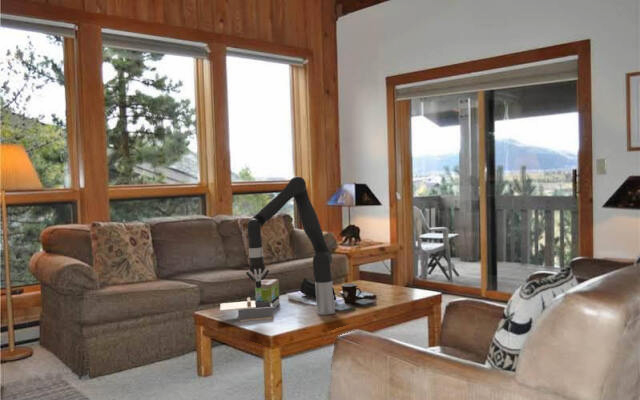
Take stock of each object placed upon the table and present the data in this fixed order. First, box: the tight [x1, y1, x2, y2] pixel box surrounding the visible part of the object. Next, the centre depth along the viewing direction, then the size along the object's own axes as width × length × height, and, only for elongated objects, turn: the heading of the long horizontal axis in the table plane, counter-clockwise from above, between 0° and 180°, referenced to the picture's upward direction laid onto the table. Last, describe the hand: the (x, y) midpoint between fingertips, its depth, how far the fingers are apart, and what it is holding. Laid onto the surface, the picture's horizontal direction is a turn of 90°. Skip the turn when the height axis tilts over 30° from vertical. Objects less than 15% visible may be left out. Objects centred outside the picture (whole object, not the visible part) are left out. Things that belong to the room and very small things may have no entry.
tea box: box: [254, 278, 280, 309], centre depth 319 cm, size 15×10×15 cm
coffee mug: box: [341, 282, 362, 304], centre depth 319 cm, size 12×9×10 cm
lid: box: [219, 297, 256, 312], centre depth 298 cm, size 18×14×3 cm
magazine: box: [300, 277, 337, 302], centre depth 332 cm, size 17×3×30 cm
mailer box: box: [237, 301, 274, 322], centre depth 299 cm, size 18×14×6 cm
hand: (258, 287), depth 299 cm, fingers closed
